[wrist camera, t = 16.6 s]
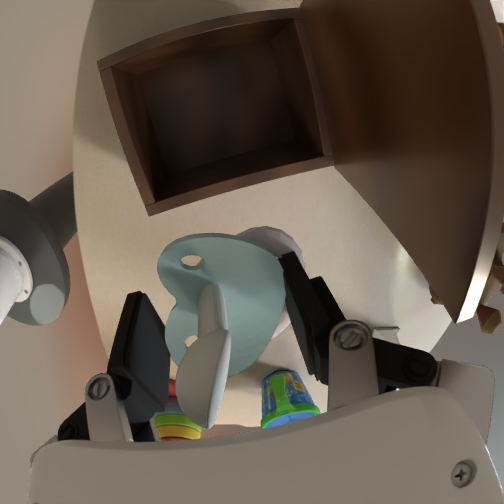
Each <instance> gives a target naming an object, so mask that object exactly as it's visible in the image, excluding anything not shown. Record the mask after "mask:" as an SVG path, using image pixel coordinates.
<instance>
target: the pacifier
mask: <svg viewBox="0 0 504 504" xmlns="http://www.w3.org/2000/svg"><path fill="white" fill-rule="evenodd" d="M292 251H295V253H296V255H297V257H298V259H299V261H300V262H301V264H302V266H303V268H304V270H305V272H306V268H305V262H304V259H303V255H302V252H301V250H300V248H299V247H298V245H297V244H296V242H295V241H294V239H293V238H292V237H290V236H289V235H288V234H286V233H285V232H283V231H282V230H280V229H276V228H272V227H268V226H263V227H255V228H250V229H248V230H246V231H243V232H241V233H239V234H237V235H229V234H221V233H202V234H193V235H188V236H185V237H182V238H179V239H177V240H175V241H173V242H171V243H170V244H169V245H167V246H166V248H165V249H164V250H163V252H162V254H161V256H160V258H159V260H158V265H157V271H158V275H159V278H160V280H161V282H162V284H163V285H164V287H165V288H166V289H167V290H168V292H169V293H170V294H171V295H173V296H174V297H175V298H176V305H175V306H174V307H173V309H172V310H171V313H170V315H169V317H168V320H167V323H166V328H165V341H166V345H167V347H168V349H169V352H170V354H171V358H172V359H173V361H174V362H175V363H176V365H177V366H178V370H177V374H176V384H175V385H176V396H177V400H178V403H179V405H180V408H181V409H182V411H183V413H184V414H185V415H186V417H187V418H188V419H189V420H190V421H192V422H193V423H194V424H196V425H198V426H200V427H202V428H206V429H208V428H209V429H210V428H211V427H212V426H213V424H214V422H215V420H216V418H217V415H218V412H219V409H220V406H221V402H222V398H223V394H224V389H225V385H226V380H227V378H228V377H231V376H234V375H236V374H237V373H239V372H241V371H243V370H244V369H246V368H248V367H249V366H251V365H252V364H253V363H254V361H255V360H257V359H258V358H259V356H260V355H261V354H262V353H263V351H264V350H265V348H266V347H267V345H268V344H269V342H270V340H271V339H272V338H274V337H275V336H277V335H278V334H280V333H281V332H282V331H283V330H284V329H285V328H286V327H287V326H288V324H289V323H290V322H291V321H290V318H289V316H288V313H287V307H286V303H285V296H286V292H285V286H284V279H283V272H284V271H283V269H282V267H281V264H280V262H279V261H278V259H277V258H282V255H283V254H286V253H289V252H292ZM188 255H196V256H200V257H202V258H203V259H202V260H200V261H199V263H198V264H197V265H196V266H189V265H185V264H184V263H182V261H181V259H182V258H183V257H185V256H188ZM275 256H276V257H277V258H276V257H275ZM193 335H195V336H198V339H197V340H196V341H195V342H194V343H193V344H192V345H191V346H190V347H189V348H188V347H187V346H186V344H185V340H186V339H187V338H188V337H189V336H193Z"/></svg>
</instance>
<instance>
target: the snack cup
mask: <svg viewBox="0 0 504 504" xmlns="http://www.w3.org/2000/svg"><path fill="white" fill-rule="evenodd" d="M319 414H320V410H319V408H318V407H317V406H316V405H315V404H314V402H313V400H312V398H311V396H310V394H309V392H308V390H307V389H306V387H305V385H304V383H303V381H302V379H301V378H300V376H299V375H298V374H297V373H296V372H295V371H291V372H290V371H281V372H275V373H274V374H272V375H270V376H268V377H267V378H266V379H265V380H263V382H262V420H261V428H262V429H264V428H269V427H273V426H278V425H282V424H286V423H290V422H294V421H298V420H301V419H305V418H308V417H312V416H315V415H319Z"/></svg>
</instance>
